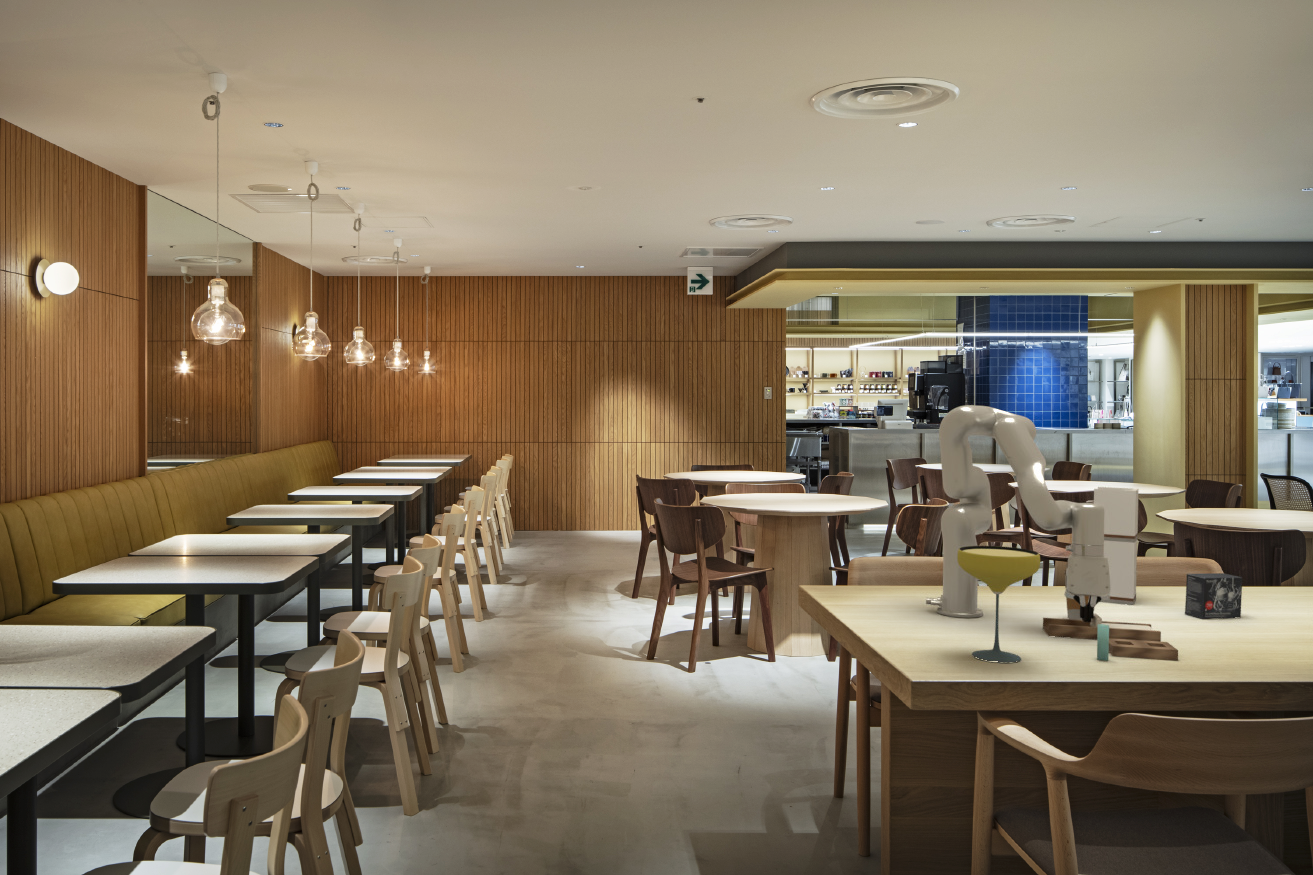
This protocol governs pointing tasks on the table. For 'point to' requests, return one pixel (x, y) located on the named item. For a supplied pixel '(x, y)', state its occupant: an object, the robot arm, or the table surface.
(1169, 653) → the pin board
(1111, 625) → the lid
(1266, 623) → the table surface
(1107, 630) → the pin
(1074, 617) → the coffee cup
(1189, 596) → the small box
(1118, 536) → the mini fridge
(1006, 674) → the table surface
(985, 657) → the cocktail glass
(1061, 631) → the board
